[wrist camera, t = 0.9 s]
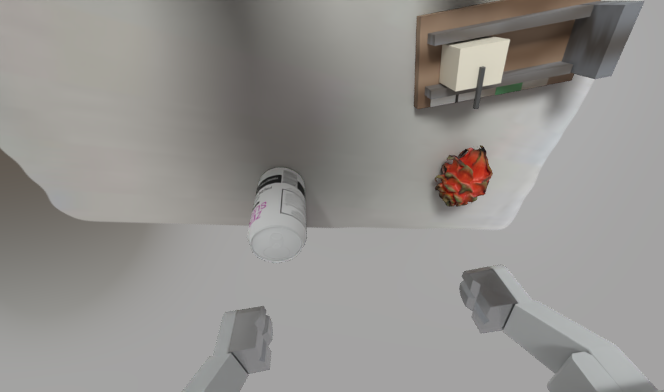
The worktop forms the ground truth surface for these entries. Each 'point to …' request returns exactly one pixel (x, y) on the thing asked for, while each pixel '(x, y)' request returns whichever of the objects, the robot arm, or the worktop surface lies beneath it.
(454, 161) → the dragon fruit
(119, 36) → the worktop surface
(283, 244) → the supplement can
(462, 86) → the cream block with rod
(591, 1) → the base
